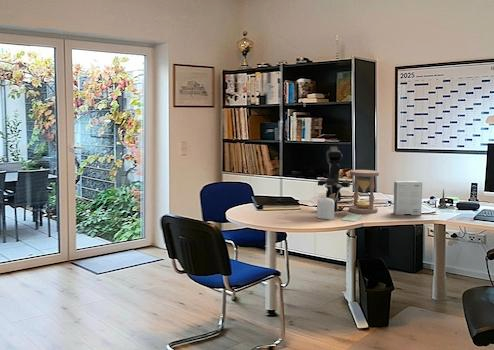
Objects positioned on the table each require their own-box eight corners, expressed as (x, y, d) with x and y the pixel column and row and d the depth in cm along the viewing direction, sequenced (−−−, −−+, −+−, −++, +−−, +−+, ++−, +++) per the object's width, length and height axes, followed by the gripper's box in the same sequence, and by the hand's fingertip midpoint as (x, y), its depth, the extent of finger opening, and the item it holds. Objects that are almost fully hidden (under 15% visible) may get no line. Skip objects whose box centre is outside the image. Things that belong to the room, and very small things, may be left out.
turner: (330, 197, 324) (331, 193, 324) (340, 198, 322) (340, 193, 321) (323, 201, 311) (323, 196, 311) (333, 202, 308) (333, 197, 308)
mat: (348, 214, 318) (348, 214, 318) (362, 215, 315) (362, 215, 315) (340, 220, 302) (340, 219, 302) (354, 221, 299) (354, 220, 299)
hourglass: (383, 212, 325) (384, 172, 322) (359, 214, 319) (360, 173, 316) (366, 207, 342) (368, 169, 339) (343, 209, 335) (344, 170, 332)
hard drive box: (418, 213, 325) (420, 180, 323) (421, 215, 317) (422, 182, 315) (392, 212, 327) (394, 180, 324) (394, 214, 319) (396, 182, 317)
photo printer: (335, 219, 305) (335, 198, 303) (332, 220, 301) (332, 199, 300) (319, 217, 310) (319, 196, 309) (315, 218, 307) (316, 197, 305)
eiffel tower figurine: (436, 210, 337) (437, 189, 336) (428, 207, 347) (429, 187, 346) (457, 209, 340) (458, 189, 338) (449, 206, 350) (450, 186, 348)
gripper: (315, 172, 313) (314, 198, 315) (346, 174, 306) (345, 201, 307) (320, 170, 323) (320, 195, 325) (350, 172, 316) (350, 198, 317)
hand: (333, 197), depth 319 cm, fingers closed on turner, 2 cm apart
